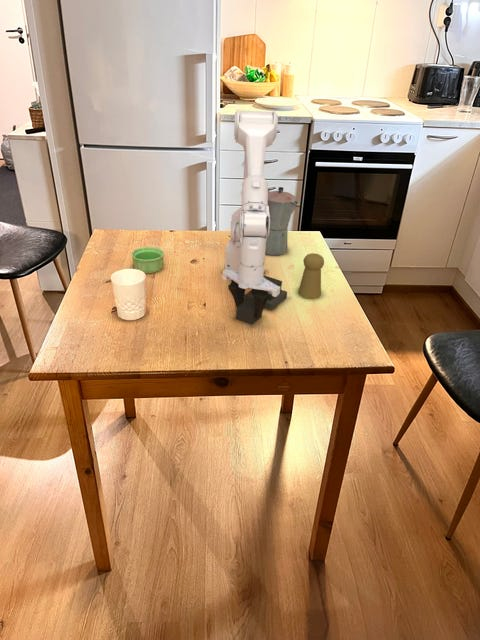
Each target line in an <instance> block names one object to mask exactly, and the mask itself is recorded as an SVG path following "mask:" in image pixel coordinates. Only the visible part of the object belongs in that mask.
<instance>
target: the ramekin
mask: <svg viewBox="0 0 480 640" xmlns="http://www.w3.org/2000/svg"><path fill="white" fill-rule="evenodd" d="M164 256H165V252H164V250H163V249H161V248H159V247H155V246H142V247H138V248H135V249H134V250H133V251H132V252H131V258H132V263H133V269H137V270H140V271H142V272H144V273H145V274H153V273H158V272H159V271H161V270H162V269H163V267H164V258H165V257H164Z"/></svg>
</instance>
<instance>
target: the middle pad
mask: <svg viewBox="0 0 480 640" xmlns="http://www.w3.org/2000/svg"><path fill="white" fill-rule="evenodd" d="M264 278H265V279H267V280H269V281H270V282H272V283H273V284H275V285H277V286H280V292H281V290H282V288H283V287H282V286H283V280H280V279H276V278H274V277H271V276H268V275H266V274H264ZM251 290H252V291H251V294H252V295H254V294H255V293H257V292H258V291H259V290H258V289H251ZM273 298H274V296H272V294H271V295H270V297H269V298H268V300H270V301H271V300H272V299H273Z"/></svg>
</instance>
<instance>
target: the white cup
mask: <svg viewBox="0 0 480 640" xmlns="http://www.w3.org/2000/svg"><path fill="white" fill-rule="evenodd" d="M110 281H111V282H110V283H111V287H112V295H113V300H114V305H115V307H116V314H117V316H118V318H120V319H121V320H125V321H136V320H139V319H141V318H143V317H144V316H145V315H146V313H147V275H146V273H144V272H142V271H140V270H137V269H135V268H124V269H123V268H122V269H119V270H117V271H115V272H113V273H112V274H111V275H110Z"/></svg>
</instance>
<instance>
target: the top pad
mask: <svg viewBox="0 0 480 640" xmlns="http://www.w3.org/2000/svg"><path fill="white" fill-rule="evenodd" d="M262 317H263V314H262V315H261V316H260V317H259V318H255V303H254V302H251V301H248V300H246V301H244V302H243V303H242V304H240V305H239V306H238V307H237V308H236V307H235V320H237V321H240V322H243V323H246V324H248V325H250V326H253V325H254V324H255V323H256V322H257V321H259V320H260V319H261V318H262Z"/></svg>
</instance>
